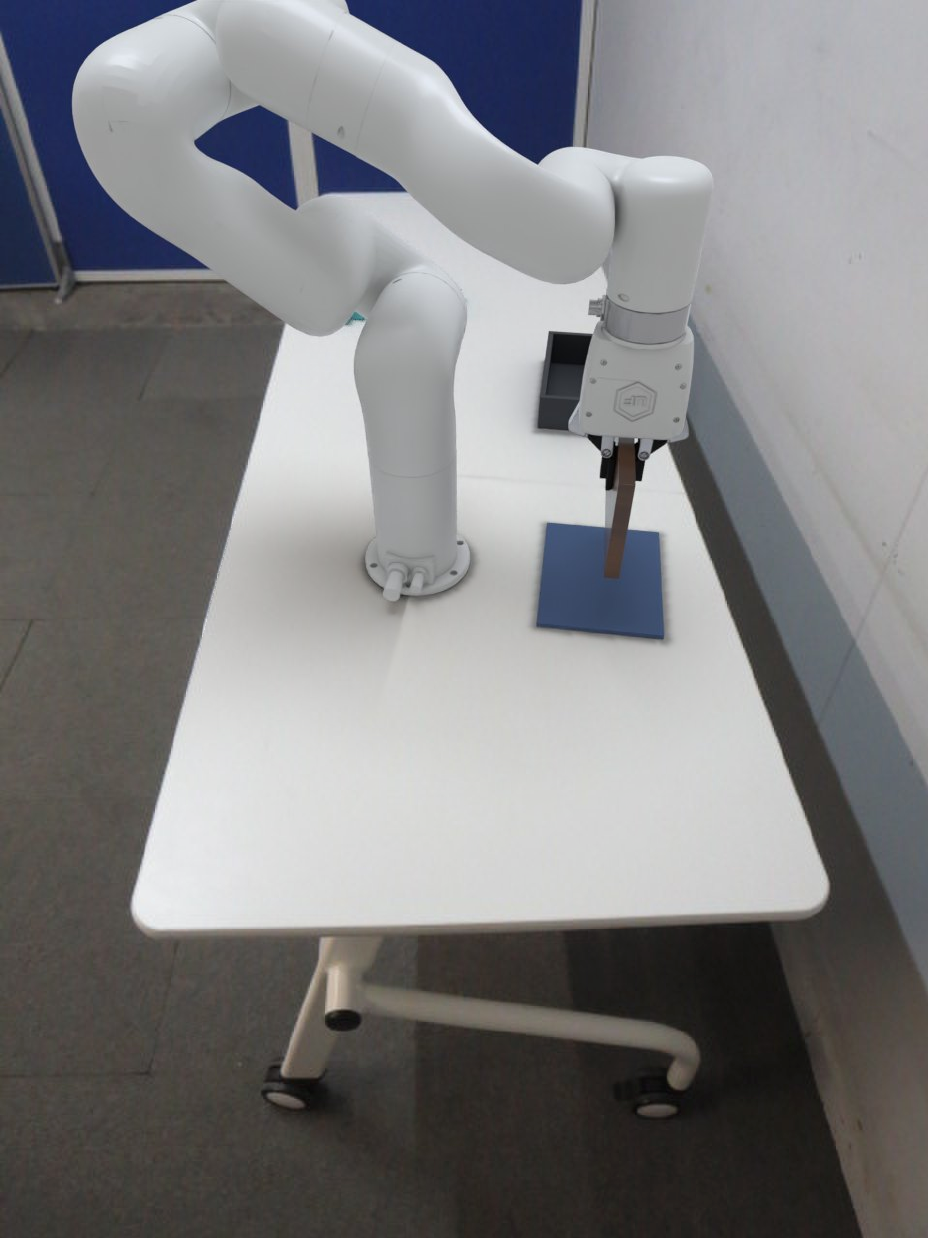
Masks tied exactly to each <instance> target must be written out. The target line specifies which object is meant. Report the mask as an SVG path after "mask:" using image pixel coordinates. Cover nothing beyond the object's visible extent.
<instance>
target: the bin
mask: <svg viewBox="0 0 928 1238" xmlns="http://www.w3.org/2000/svg"><path fill="white" fill-rule="evenodd" d="M547 333H548V334H547V341H546V348H545V356H544V364H543V370H542V377H541V378H542V379H541V386H540V393H539V401H538V412H537V413H538V415H537V416H538V417H537V429H542V430H554V431H566V432H570V431H569V429H568V425H569V419H570V417H571V416H572V414H573V412H574V410H575V408H576V407H577V405H578V403H579V401H580V394H581V387H582V380H583V374H584V368H585V363H586V358H587V354H588V350H589V346H590V342H591V339H592V335H593V333H588V332H587V333H586V332H572V331H557V330H556V331H554V330H548V332H547Z"/></svg>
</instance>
